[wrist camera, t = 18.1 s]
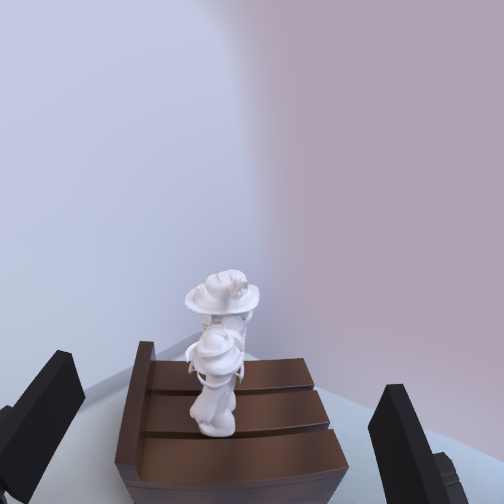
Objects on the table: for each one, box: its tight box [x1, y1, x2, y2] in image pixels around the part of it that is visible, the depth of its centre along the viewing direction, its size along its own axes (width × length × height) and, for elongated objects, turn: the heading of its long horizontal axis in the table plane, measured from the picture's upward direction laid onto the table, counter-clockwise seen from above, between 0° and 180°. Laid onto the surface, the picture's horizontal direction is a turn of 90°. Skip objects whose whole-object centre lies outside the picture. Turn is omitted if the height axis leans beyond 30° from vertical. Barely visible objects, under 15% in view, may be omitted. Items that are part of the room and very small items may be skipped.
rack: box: [115, 341, 349, 504], centre depth 22 cm, size 14×12×10 cm
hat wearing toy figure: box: [185, 270, 259, 437], centre depth 19 cm, size 9×4×12 cm, turn 178°
